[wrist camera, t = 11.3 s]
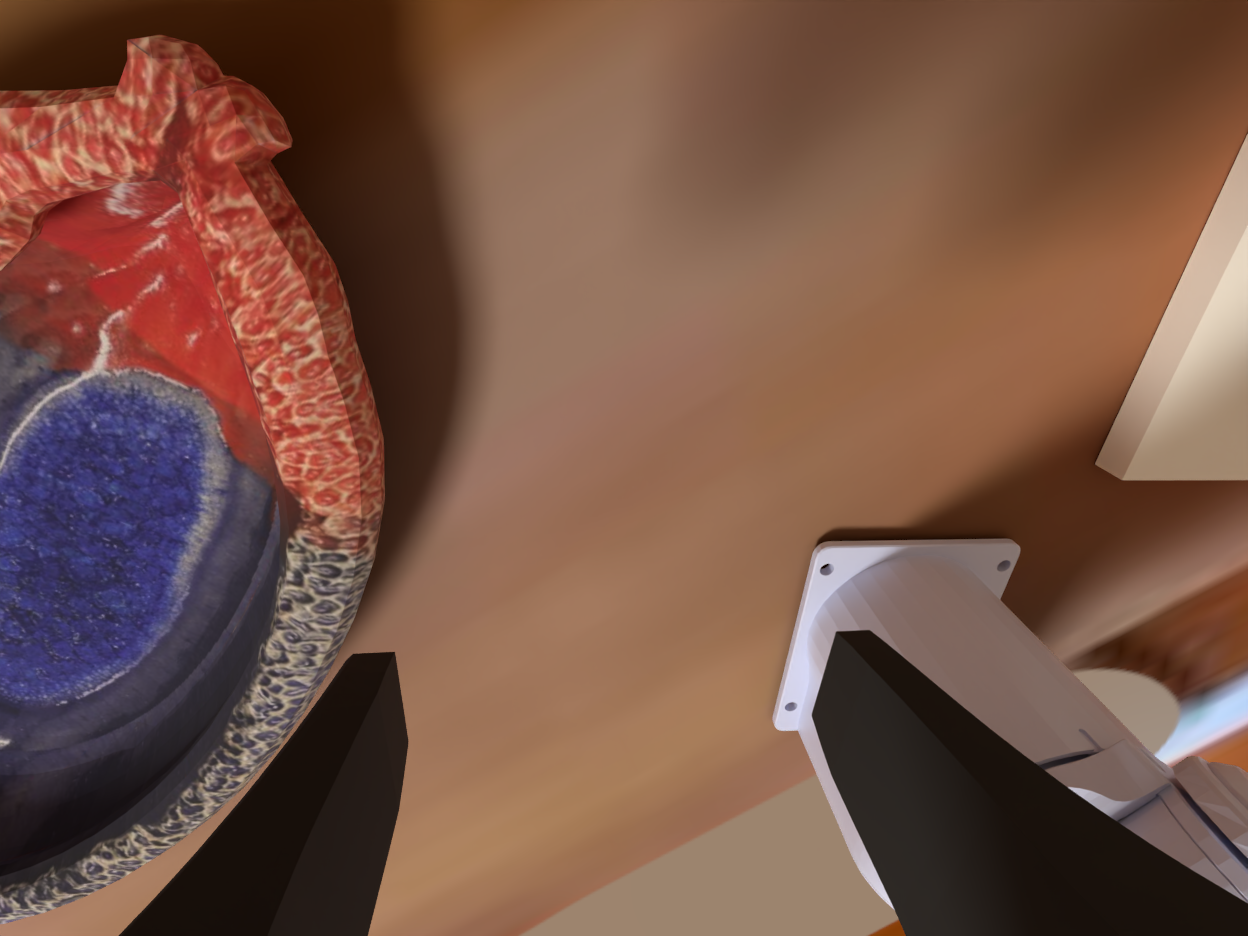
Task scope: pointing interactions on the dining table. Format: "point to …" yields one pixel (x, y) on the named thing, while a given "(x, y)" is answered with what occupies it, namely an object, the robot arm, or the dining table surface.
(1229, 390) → the holder board
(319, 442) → the dish
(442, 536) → the dining table surface
